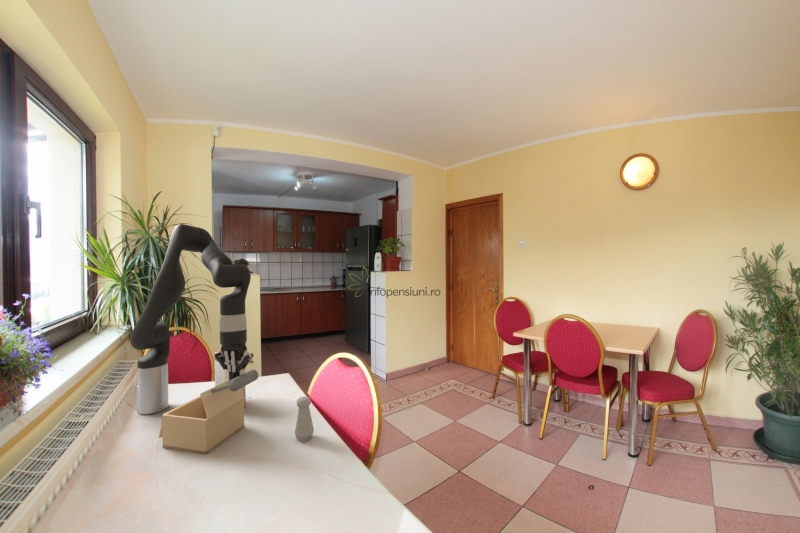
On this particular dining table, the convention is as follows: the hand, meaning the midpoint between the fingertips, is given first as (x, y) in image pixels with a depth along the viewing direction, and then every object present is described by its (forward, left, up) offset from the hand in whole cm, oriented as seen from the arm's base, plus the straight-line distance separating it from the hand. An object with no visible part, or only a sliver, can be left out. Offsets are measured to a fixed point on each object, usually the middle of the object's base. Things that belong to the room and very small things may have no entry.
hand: (234, 382), depth 101 cm
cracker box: (-20, +21, -19) cm, 35 cm away
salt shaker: (+21, +6, -19) cm, 28 cm away
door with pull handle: (-5, 0, -4) cm, 6 cm away
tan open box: (-13, 0, -19) cm, 22 cm away
